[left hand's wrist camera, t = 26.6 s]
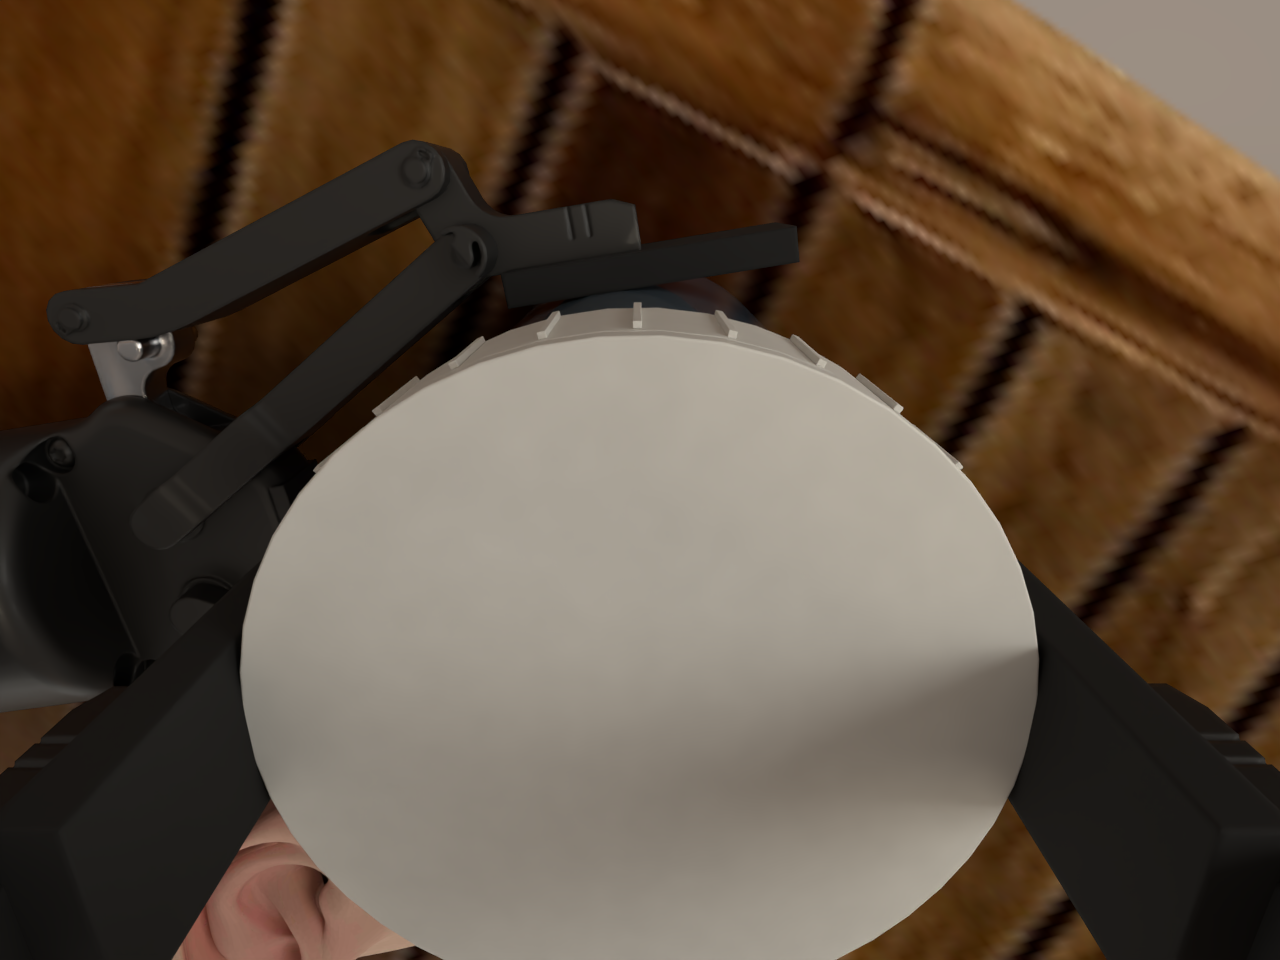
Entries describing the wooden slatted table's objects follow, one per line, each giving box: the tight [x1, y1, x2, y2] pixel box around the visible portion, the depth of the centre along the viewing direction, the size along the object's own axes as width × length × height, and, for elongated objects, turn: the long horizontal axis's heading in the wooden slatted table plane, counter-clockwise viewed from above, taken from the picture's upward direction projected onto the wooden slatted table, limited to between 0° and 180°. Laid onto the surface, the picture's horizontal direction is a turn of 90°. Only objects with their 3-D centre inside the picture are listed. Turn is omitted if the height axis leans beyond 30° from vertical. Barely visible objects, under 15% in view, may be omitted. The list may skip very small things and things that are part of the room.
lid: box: [240, 302, 1039, 960], centre depth 11 cm, size 11×11×2 cm
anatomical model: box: [172, 799, 415, 960], centre depth 31 cm, size 13×4×12 cm
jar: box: [512, 277, 767, 330], centre depth 19 cm, size 10×10×16 cm
